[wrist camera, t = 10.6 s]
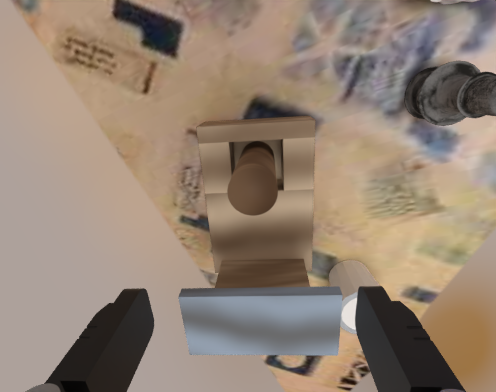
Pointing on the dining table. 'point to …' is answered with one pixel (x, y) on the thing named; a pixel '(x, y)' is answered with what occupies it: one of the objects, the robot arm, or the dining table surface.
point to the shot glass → (350, 288)
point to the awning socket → (261, 251)
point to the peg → (254, 180)
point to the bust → (451, 1)
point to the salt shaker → (451, 93)
